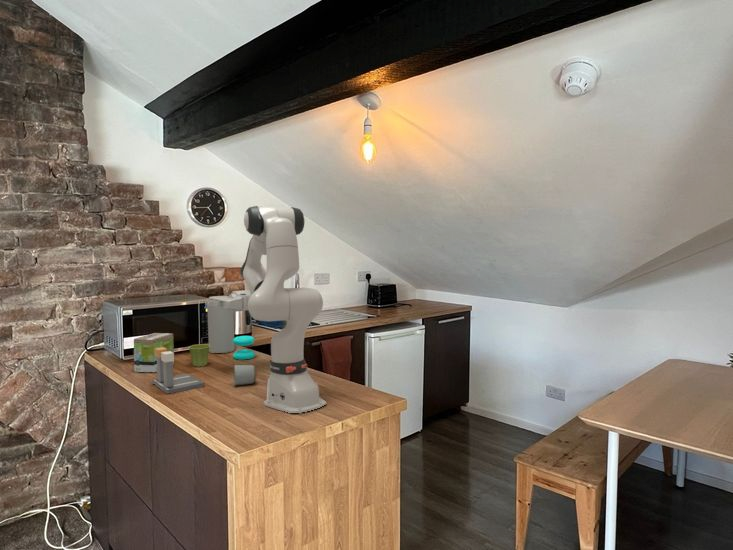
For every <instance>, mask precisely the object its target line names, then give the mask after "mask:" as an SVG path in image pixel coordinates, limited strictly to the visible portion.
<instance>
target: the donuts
mask: <svg viewBox="0 0 733 550" xmlns="http://www.w3.org/2000/svg"><path fill="white" fill-rule="evenodd" d="M254 342H255V338H254V337H253V335H252V336H251V335H240V336H236V337H235V336H234V339H233V343H234V345H235V346H238V347H246V346H250V345H253V344H254ZM255 355H256V353H255V351H254V350H252V349H245V348H244V349H238V350H236V351H234V353H233V358H234V359H235V360H237V359H238V361H244V360H245V361H246V359H247V360H251V359H253V358H254V357H255Z"/></svg>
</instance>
